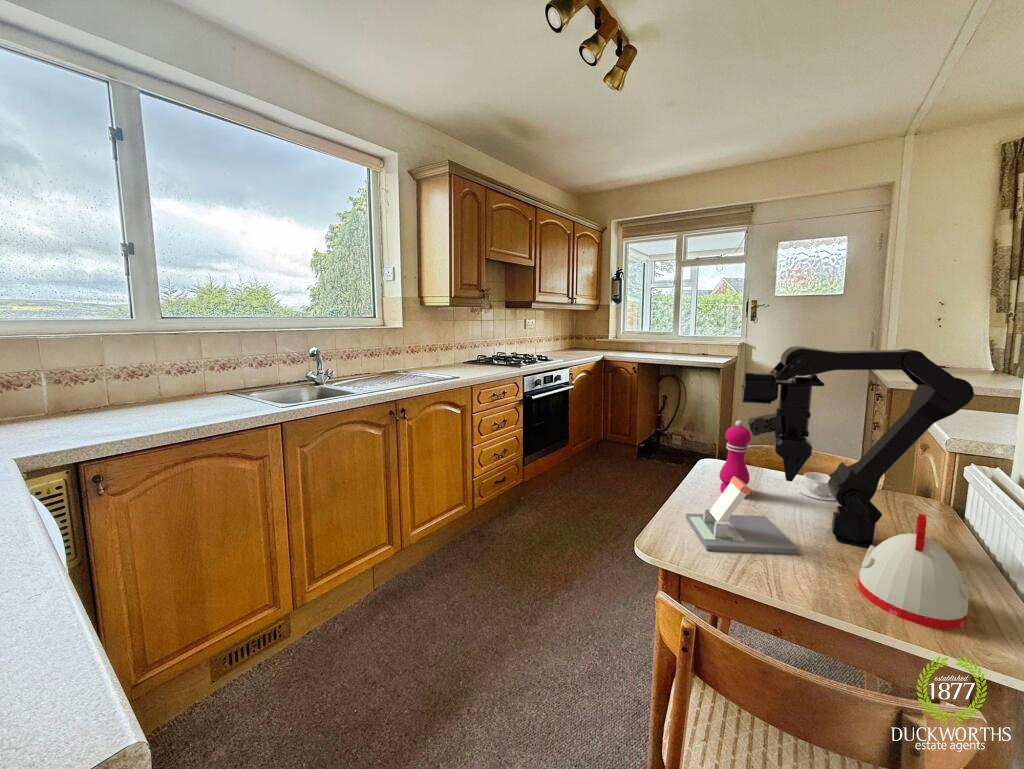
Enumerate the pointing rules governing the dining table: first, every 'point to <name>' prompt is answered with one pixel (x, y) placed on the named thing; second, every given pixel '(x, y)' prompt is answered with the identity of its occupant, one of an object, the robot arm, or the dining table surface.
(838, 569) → the dining table surface
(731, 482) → the switch lever
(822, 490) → the teacup
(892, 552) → the kitchen timer
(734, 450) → the pepper mill
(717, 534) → the switch panel
